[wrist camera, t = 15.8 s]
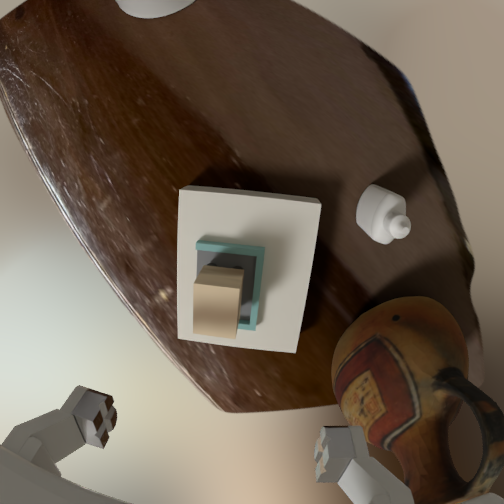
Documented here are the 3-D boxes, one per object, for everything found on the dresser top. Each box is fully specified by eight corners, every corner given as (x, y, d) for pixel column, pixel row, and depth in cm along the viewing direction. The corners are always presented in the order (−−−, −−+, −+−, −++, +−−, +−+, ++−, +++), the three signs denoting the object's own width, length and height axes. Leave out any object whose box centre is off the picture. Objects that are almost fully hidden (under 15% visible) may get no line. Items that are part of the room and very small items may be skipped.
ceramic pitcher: (307, 378, 47) (321, 554, 19) (361, 266, 41) (464, 448, 13) (404, 395, 48) (455, 534, 20) (463, 300, 42) (573, 429, 13)
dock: (188, 185, 39) (176, 191, 34) (316, 198, 38) (323, 206, 33) (185, 323, 45) (175, 343, 41) (294, 336, 45) (295, 358, 40)
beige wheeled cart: (206, 260, 37) (193, 283, 31) (245, 264, 37) (239, 288, 31) (204, 304, 39) (192, 333, 33) (241, 309, 39) (235, 339, 33)
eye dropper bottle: (343, 207, 39) (370, 233, 27) (375, 178, 37) (414, 193, 26) (364, 232, 39) (396, 266, 28) (395, 204, 38) (437, 228, 27)
